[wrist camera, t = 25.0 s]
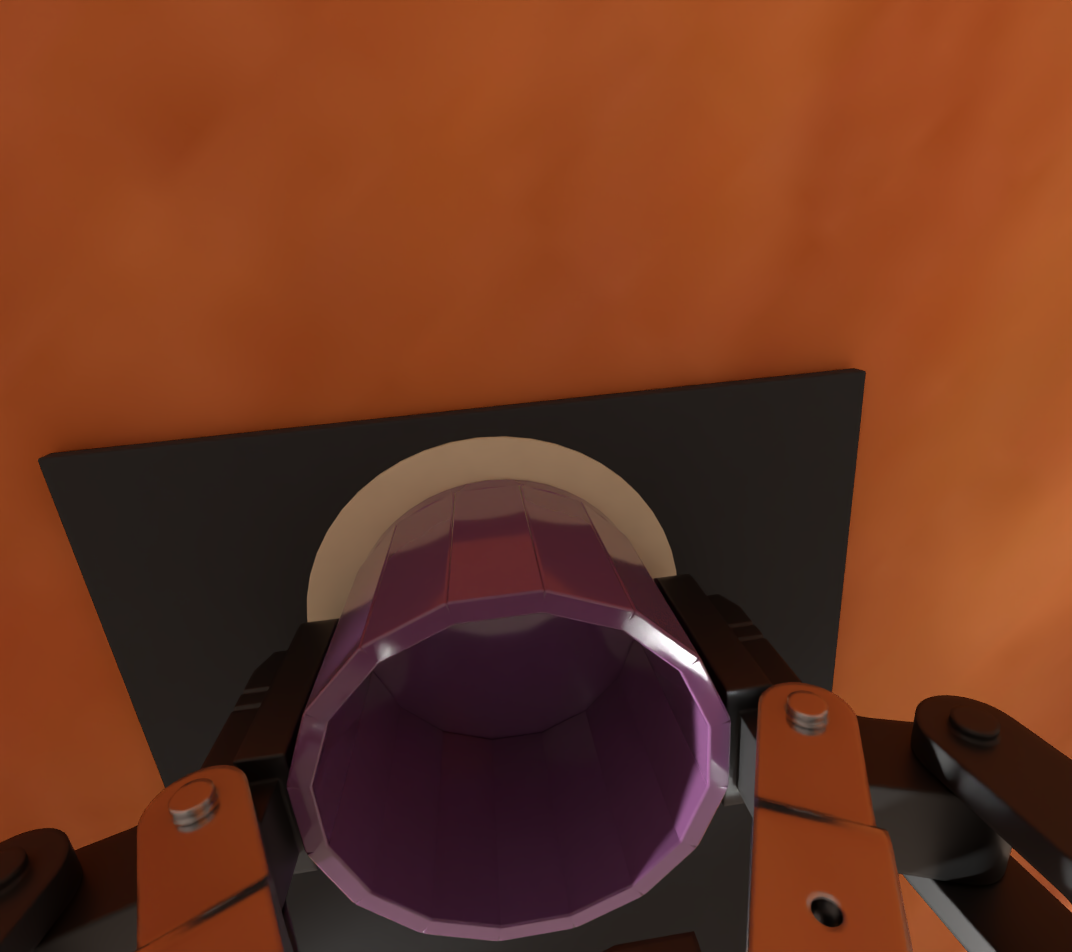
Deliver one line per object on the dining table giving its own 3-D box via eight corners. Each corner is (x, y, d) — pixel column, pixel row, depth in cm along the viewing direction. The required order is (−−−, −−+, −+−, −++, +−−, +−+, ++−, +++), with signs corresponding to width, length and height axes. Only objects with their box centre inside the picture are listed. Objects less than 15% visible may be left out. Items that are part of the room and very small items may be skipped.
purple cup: (381, 750, 13) (339, 970, 9) (325, 497, 11) (236, 630, 7) (647, 711, 14) (725, 903, 10) (640, 461, 12) (738, 564, 7)
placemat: (351, 1244, 21) (348, 1266, 20) (50, 452, 11) (31, 460, 10) (776, 1154, 22) (783, 1173, 22) (854, 367, 12) (870, 371, 12)
